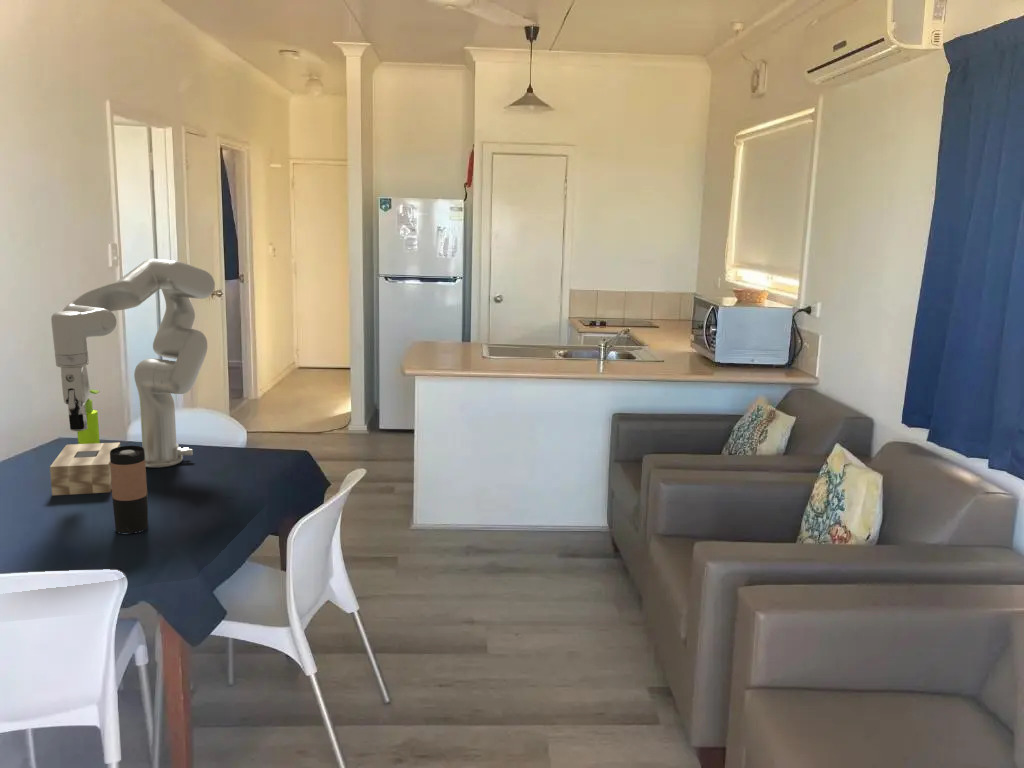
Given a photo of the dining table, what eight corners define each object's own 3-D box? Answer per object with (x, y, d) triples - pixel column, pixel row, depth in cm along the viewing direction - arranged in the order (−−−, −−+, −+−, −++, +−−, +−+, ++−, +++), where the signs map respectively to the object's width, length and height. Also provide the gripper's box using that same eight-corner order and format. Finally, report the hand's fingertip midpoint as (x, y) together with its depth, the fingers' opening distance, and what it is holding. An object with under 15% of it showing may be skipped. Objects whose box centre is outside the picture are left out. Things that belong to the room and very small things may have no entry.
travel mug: (121, 522, 201) (116, 445, 196) (153, 522, 201) (149, 445, 197) (109, 534, 193) (103, 454, 189) (142, 535, 194) (137, 455, 190)
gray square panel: (98, 453, 228) (98, 450, 228) (95, 459, 224) (94, 456, 224) (78, 454, 227) (78, 451, 227) (75, 460, 222) (74, 457, 222)
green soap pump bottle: (97, 456, 248) (93, 392, 244) (75, 455, 248) (70, 391, 244) (107, 450, 254) (103, 388, 249) (85, 449, 254) (80, 387, 249)
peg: (88, 426, 218) (86, 401, 216) (86, 430, 214) (83, 405, 212) (72, 427, 216) (69, 402, 215) (69, 431, 213) (66, 406, 211)
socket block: (121, 468, 238) (120, 442, 237) (110, 492, 220) (108, 464, 218) (68, 471, 234) (66, 444, 232) (52, 495, 216) (49, 466, 214)
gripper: (82, 365, 204) (89, 435, 208) (93, 351, 219) (99, 416, 224) (48, 367, 202) (56, 437, 206) (62, 352, 217) (69, 418, 221)
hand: (78, 425), depth 215 cm, fingers closed on peg, 4 cm apart
